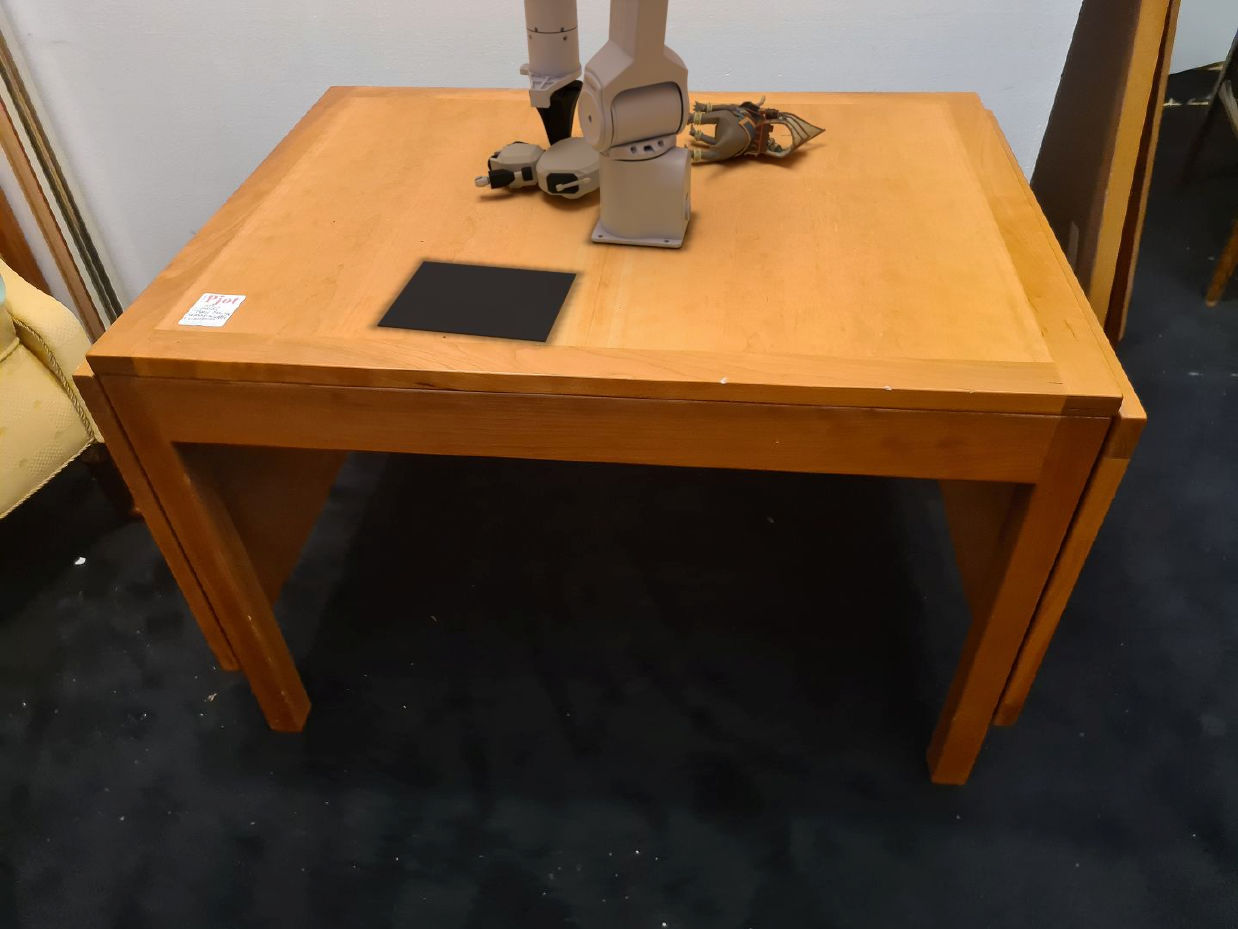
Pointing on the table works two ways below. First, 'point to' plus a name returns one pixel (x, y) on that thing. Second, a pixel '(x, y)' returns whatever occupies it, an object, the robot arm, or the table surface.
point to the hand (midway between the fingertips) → (560, 147)
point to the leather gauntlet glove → (746, 130)
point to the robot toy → (545, 167)
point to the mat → (480, 301)
